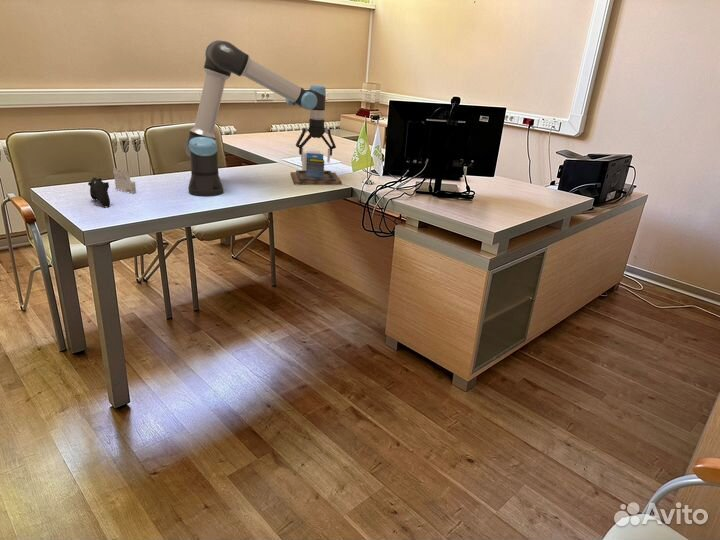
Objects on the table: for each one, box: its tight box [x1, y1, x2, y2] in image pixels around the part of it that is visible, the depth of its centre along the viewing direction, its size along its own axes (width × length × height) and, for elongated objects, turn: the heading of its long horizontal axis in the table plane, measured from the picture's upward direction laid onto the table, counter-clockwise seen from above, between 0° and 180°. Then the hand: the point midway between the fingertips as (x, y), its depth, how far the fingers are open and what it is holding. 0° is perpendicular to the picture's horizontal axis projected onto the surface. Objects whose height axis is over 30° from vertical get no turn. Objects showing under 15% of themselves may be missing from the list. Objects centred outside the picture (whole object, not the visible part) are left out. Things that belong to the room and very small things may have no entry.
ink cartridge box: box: [112, 167, 137, 194], centre depth 221 cm, size 2×11×10 cm, turn 59°
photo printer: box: [301, 148, 322, 171], centre depth 276 cm, size 10×4×12 cm, turn 103°
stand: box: [290, 169, 343, 186], centre depth 262 cm, size 24×21×3 cm
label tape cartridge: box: [306, 153, 325, 178], centre depth 260 cm, size 9×4×12 cm, turn 84°
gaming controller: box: [87, 177, 111, 207], centre depth 202 cm, size 14×6×10 cm, turn 45°
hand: (315, 161), depth 259 cm, fingers open, 13 cm apart
